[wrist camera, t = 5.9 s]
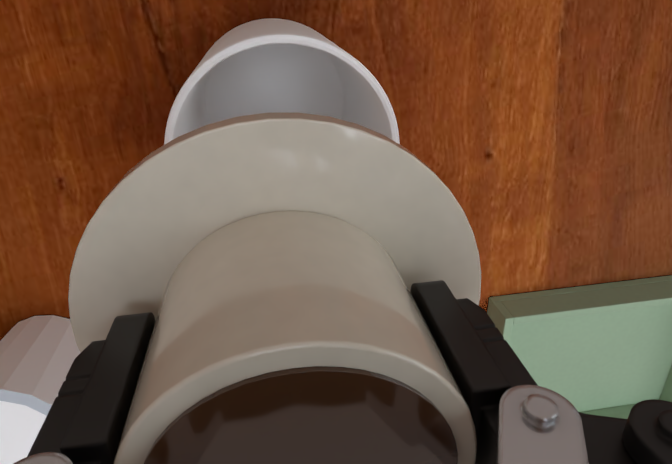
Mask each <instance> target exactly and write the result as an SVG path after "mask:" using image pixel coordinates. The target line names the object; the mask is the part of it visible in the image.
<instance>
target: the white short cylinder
mask: <svg viewBox="0 0 672 464" xmlns="http://www.w3.org/2000/svg"><path fill="white" fill-rule="evenodd" d="M79 354H80V351H79V349H78V347H77V344H76V341H75V337H74V333H73V329H72V326H71V322H70V319H67V318H63V317H59V316H55V315H45V316H33V317H30V318H28V319H25V320H23V321H20V322H18V323H17V324H16V325H15V326H14V327H13V328H12V329H11V330H10V331H9V332H8V333H7V334H6V335H5V336H4V337H3V338H2V340H1V341H0V464H14V463H15V462H17V461H19V460H21V459H23V458H26V457H27V456H28V454H29V452H30V449H31V447H32V445H33V443H34V441H35V439H36V437H37V435H38V433H39V431H40V429H41V427H42V425H43V423H44V421H45V419H46V417H47V415H48V413H49V411H50V408H51V406H52V404H53V402H54V400H55V398H56V397H58V392H59V390H60V388H61V386H62V384H63V382H64V381H66V376H67V374H68V372H69V370H70V367H71V365H72V363H73V361H74V359H75V358H76V357H77V356H78V355H79Z"/></svg>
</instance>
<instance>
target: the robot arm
mask: <svg viewBox="0 0 672 464" xmlns="http://www.w3.org/2000/svg"><path fill="white" fill-rule="evenodd" d="M410 293H411V295H412V296H413V298H414V300H415V302H416V304H417V306H418V308H419V310H420V312H421V314H422V316H423V318H424V320H425V322H426V324H427V326H428V328H429V330H430V332H431V334H432V336H433V338H434V340H435V342H436V344H437V346H438V348H439V350H440V352H441V354H442V356H443V358H444V360H445V362H446V364H447V366H448V368H449V370H450V372H451V374H452V376H453V378H454V380H455V382H456V384H457V386H458V388H459V390H460V392H461V393H462V395H463V397H464V399H465V401H466V403H467V405H468V407H469V409H470V412H471V415H472V418H473V421H474V424H475V429H476V437H477V451H476V461H475V464H672V402H669V401H664V400H655V399H653V400H644V401H641V402H638V403H636V404H635V405H634V406H633V407H632V408H631V410H630V413H629V416H628V419H623V418H615V417H607V416H599V415H591V414H585V413H581V412H578V411H577V409H576V408H575V407H574V405H573V404H572V403H571V402H570V401H569V400H567V399H566V398H565V397H563V396H562V395H560V394H559V393H557V392H555V391H553V390H551V389H548V388H545V387H541V386H538V385H537V383H536V382H535V381H534V379H533V378H532V376H531V375H530V374H529V372H528V371H527V369H526V368H525V366H524V365H523V364H522V362H521V361H520V359H519V358H518V357H517V355H516V354H515V352H514V351H513V349H512V348H511V347H510V345H509V344H508V342H507V341H506V340H504V337H503V335H502V334H501V332H500V331H499V330H498V328H495V324H494V323H493V321H492V320H491V318H490V317H489V316H488V314H487V313H486V311H485V310H484V309H483V308H481V307H480V306H478V305H477V304H475V303H474V302H472V301H471V300H469V299H468V298H464V299H456V298H455V297H454V295H453V294H452V292H451V290H450V289H449V287H448V286H447V284H446V283H445V282H444V281H443V280H439V281H430V282H421V283H413V284H412V285H411V290H410ZM155 322H156V319H155V316H154V315H153V313H152V312H148V313H139V314H130V315H122V316H117V317H116V318H115V319H114V321H113V323H112V326H111V328H110V330H109V333H108V335H107V337H106V340H100V341H92V342H91V343H90V344H89V345H88V346H87V347H86V348H85V349H84V350H83V351H82V352H81V353H80V354H79V355H78V356H77V357H76V358H75V359H74V361H73V363H72V365H71V367H70V370H69V372H68V374H67V376H66V381H64V382H63V384H62V386H61V388H60V390H59V392H58V397H56V398H55V400H54V402H53V404H52V406H51V408H50V411H49V413H48V415H47V417H46V419H45V421H44V423H43V425H42V427H41V429H40V431H39V433H38V435H37V437H36V439H35V441H34V443H33V445H32V447H31V449H30V452H29V454H28V456H27V457H26V458H23V459H21V460H19V461H17V462H15V463H14V464H114V460H115V456H116V453H117V450H118V446H119V443H120V439H121V436H122V433H123V429H124V426H125V423H126V419H127V416H128V412H129V409H130V406H131V402H132V399H133V396H134V392H135V389H136V386H137V382H138V379H139V375H140V372H141V369H142V365H143V362H144V359H145V355H146V352H147V348H148V345H149V342H150V338H151V335H152V332H153V328H154V325H155Z"/></svg>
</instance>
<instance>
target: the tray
mask: <svg viewBox="0 0 672 464" xmlns="http://www.w3.org/2000/svg"><path fill="white" fill-rule="evenodd" d="M487 314H488V316H489V317H490V318H491V320H492V321H493V323H494V324H495V328H498V330H499V331H500V332H501V334H502V335H503V337H504V340H506V341H507V342H508V344H509V345H510V347H511V348H512V349H513V351H514V352H515V354H516V355H517V357H518V358H519V359H520V361H521V362H522V364H523V365H524V366H525V368H526V369H527V371H528V372H529V374H530V375H531V376H532V378H533V379H534V381H535V382H536V383H537V385H538V386H541V387H545V388H548V389H551V390H553V391H555V392H557V393H559V394H560V395H562V396H563V397H565V398H566V399H567V400H569V401H570V402H571V403H572V404H573V405H574V407H575V408H576V409H577V411H578V412H581V413H585V414H591V415H599V416H607V417H615V418H623V419H628V416H629V413H630V410H631V408H632V407H633V406H634V405H635V404H636V403H638V402H641V401H644V400H653V399H655V400H664V401H669V402H672V275H669V276H661V277H653V278H644V279H636V280H628V281H620V282H611V283H603V284H595V285H586V286H578V287H570V288H561V289H553V290H545V291H537V292H528V293H520V294H512V295H503V296H495V297H489V302H488V310H487Z"/></svg>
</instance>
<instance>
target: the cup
mask: <svg viewBox="0 0 672 464" xmlns="http://www.w3.org/2000/svg"><path fill="white" fill-rule="evenodd" d="M297 112H299V113H307V114H314V115H322V116H330V117H333V118H337V119H341V120H344V121H348V122H352V123H356V124H359V125H361V126H364V127H366V128H368V129H371V130H373V131H375V132H378V133H380V134H382V135H385V136H386V137H388V138H390V139H391V140H393V141H395V142H396V143H398V144H399V132H398V126H397V121H396V117H395V114H394V111H393V108H392V106H391V103H390V101H389V99H388V97H387V95H386V93H385V92H384V90H383V88H382V87H381V85H380V84H379V82H378V81H377V80H376V78H375V77H374V76H373V75H372V74H371V72H370V71H369V70H368V69H367V68H366V67H365V66H364V65H363V64H361V63H360V62H359V61H358V60H357V59H355V58H354V57H353V56H351V55H350V54H349V53H347V52H346V51H344V50H343V49H341V48H340V47H339V46H337V45H336V44H334V43H333V42H331V41H330V40H328V39H327V38H326V37H324V36H323V35H321V34H320V33H318V32H317V31H315V30H313V29H312V28H310V27H307V26H305V25H303V24H300V23H297V22H295V21H290V20H286V19H276V18H268V19H259V20H254V21H250V22H247V23H244V24H242V25H240V26H237V27H235V28H234V29H232V30H230V31H228V32H227V33H226V34H224V35H223V36H222V37H221V38H220V39H219V40H217V41H216V42H215V43H214V45H213V46H212V47H211V48H210V49H209V50H208V52H207V53H206V55H205V56H204V57H203V59H202V60H201V61H200V63H199V64H198V65H197V67H196V68H195V70H194V71H193V72H192V74H191V75H190V76H189V78H188V79H187V81H186V82H185V83H184V85H183V86H182V88H181V89H180V91H179V93H178V95H177V97H176V98H175V101H174V103H173V105H172V108H171V110H170V114H169V117H168V120H167V125H166V131H165V141H164V145H165V144H167V143H168V142H170V141H172V140H173V139H175V138H177V137H179V136H181V135H184V134H186V133H188V132H191V131H193V130H195V129H198V128H200V127H203V126H205V125H208V124H212V123H215V122H219V121H223V120H226V119H230V118H234V117H239V116H246V115H253V114H261V113H297Z"/></svg>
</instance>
